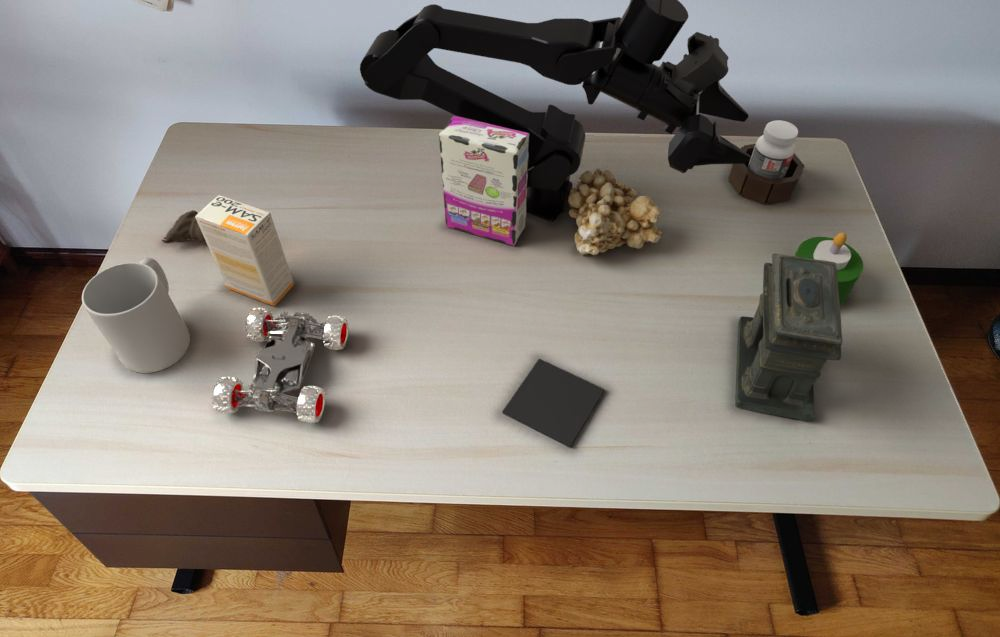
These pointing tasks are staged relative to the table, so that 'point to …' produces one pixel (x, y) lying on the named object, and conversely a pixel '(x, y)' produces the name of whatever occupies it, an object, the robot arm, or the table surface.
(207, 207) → the supplement box
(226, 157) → the table surface
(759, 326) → the model
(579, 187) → the mineral formation
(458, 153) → the candy bar box
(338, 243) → the table surface
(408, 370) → the table surface
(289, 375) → the toy car
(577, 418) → the rubber mat
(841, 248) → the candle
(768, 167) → the pill bottle
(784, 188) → the holder ring
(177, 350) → the mug
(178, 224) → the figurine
